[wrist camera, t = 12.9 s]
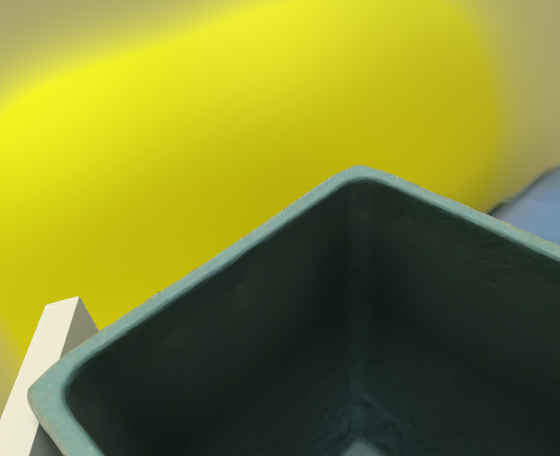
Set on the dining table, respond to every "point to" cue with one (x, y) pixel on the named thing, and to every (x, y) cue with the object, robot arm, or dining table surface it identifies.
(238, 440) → the flower pot
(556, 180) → the dining table surface
